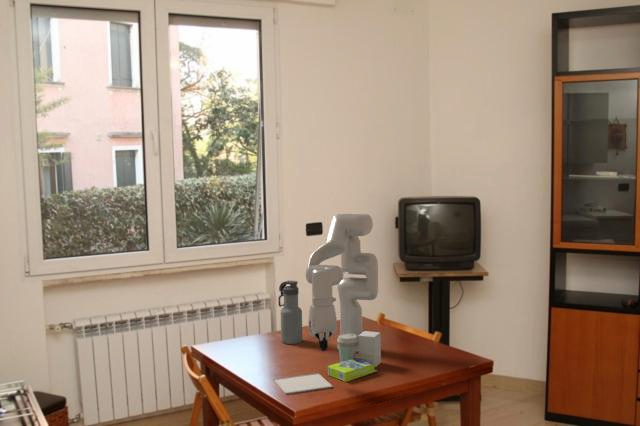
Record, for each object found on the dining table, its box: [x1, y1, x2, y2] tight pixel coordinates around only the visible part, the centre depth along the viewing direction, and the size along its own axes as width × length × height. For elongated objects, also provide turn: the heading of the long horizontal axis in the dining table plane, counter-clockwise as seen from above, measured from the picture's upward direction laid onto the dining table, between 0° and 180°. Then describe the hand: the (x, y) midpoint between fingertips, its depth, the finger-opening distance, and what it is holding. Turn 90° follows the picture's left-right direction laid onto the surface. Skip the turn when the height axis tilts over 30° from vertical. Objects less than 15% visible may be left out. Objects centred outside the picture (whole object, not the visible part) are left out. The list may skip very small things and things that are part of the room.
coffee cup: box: [336, 333, 358, 363], centre depth 264 cm, size 8×9×12 cm
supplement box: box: [357, 330, 382, 368], centre depth 265 cm, size 7×7×13 cm
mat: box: [273, 372, 334, 396], centre depth 244 cm, size 18×16×1 cm
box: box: [327, 357, 378, 383], centre depth 254 cm, size 10×4×17 cm
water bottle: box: [277, 279, 303, 345], centre depth 298 cm, size 10×10×28 cm
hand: (323, 349), depth 245 cm, fingers closed
